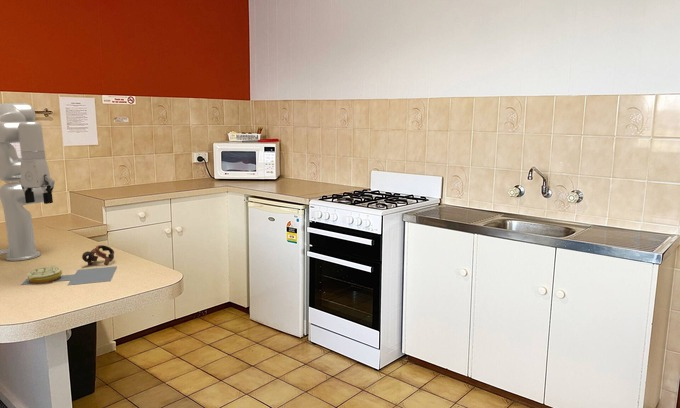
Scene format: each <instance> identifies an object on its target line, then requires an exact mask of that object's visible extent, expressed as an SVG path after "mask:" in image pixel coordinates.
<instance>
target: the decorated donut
mask: <svg viewBox="0 0 680 408" xmlns="http://www.w3.org/2000/svg"><path fill="white" fill-rule="evenodd" d="M62 275H63V272H62V269H61V268H60V267H58V266H47V267H46V266H45V267H40V268H37V269H33V270H32V271H30V272H28V274H27V279H28V280H29V281H30V282H32V283H36V284H43V282H47V283H51V282H50V281H55V280H57V279H58V278H60V276H62Z"/></svg>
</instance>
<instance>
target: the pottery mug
mask: <svg viewBox="0 0 680 408" xmlns="http://www.w3.org/2000/svg"><path fill="white" fill-rule="evenodd" d="M100 249H102V251H101V250H100ZM107 251H108V252H109V253H108V254H107V253H105V252H107ZM107 255H108V256H107ZM99 257H100V258H102V259H104V262H103V264H104V265H106V266H108V265H109V264H110V263H111V262H112V261H113V260H114V259H115V251H114V249H112V248H111V247H110V246H108V245H103V244H99V245H97V246H95V248H93V249H92V250H90V251H89V250H88V251H85V252H83V253H82V255H81V258H82V260H83V262H85V263H87V265H92V263H93V262H98V258H99Z"/></svg>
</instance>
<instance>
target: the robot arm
mask: <svg viewBox="0 0 680 408" xmlns="http://www.w3.org/2000/svg"><path fill="white" fill-rule="evenodd" d="M12 143H13V144H14V143H17V144H18V143H19V147H20V148H19V149H20V156H21V157H19V156H18V154H17V150H16V147H15V146H14V145H12ZM45 150H46V149H45V143H44V134H43V127H42V124H41V123H40V122H39V121H36V112H35V108H34V107H33V105H31V104H29V103H26V102H5V103H0V180H1V182H7V183H4V184H3V185H1V186H0V203H1V206H2V209H3V214H4V220H5V221H4V222H5V229H6V236H7V245H8V247H6V248H5V249H4V248H0V255H1V256H2V255H6V256H5V260H7V261H9V262H10V261H11V262H17V261H19V262H21V261H26V260H32V259H34V258H35V259H36V258H38V257H41V256H40V255H41V251H40V250H37V249H36V242H35V232H34V226H33V217H32V214H31V212H30V211H29V210H28V209H26V208H25V207H24V206H25V205H26V206H27V205H33V204H34V205H35V204H41V203H43V204H44V205H48V204H52V203H54V200H53V191H54V187H55V183H56V182H55V180H54V179H53V178H52V177H51V176H50V170H49V166H48V162H47V159H46V151H45Z"/></svg>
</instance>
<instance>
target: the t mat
mask: <svg viewBox="0 0 680 408" xmlns="http://www.w3.org/2000/svg"><path fill="white" fill-rule="evenodd" d="M117 268H118V266H117V265H116V266H105V267H95V268H82V269H81V268H80V269H78V270H76V272H75V273H74V274H65V275H63V274H61V276H60V278H58V279H57V280H55V281H50V282H49V283H56V282H66V281H69V282H68V283H67V286H73V285H74V286H75V285H85V284H94V283H96V284H97V283H104V282H105V283H106V282H111V281H112V279H113V277H114V275H115V272H116V270H117ZM43 283H45V284H46V282H43ZM43 283H42V284H43ZM34 284H37V283H32V282H30V281H29V280H28V278H26V279H25V280H24V281H23V282H22V283H21V285H22V286H24V285H34Z"/></svg>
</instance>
